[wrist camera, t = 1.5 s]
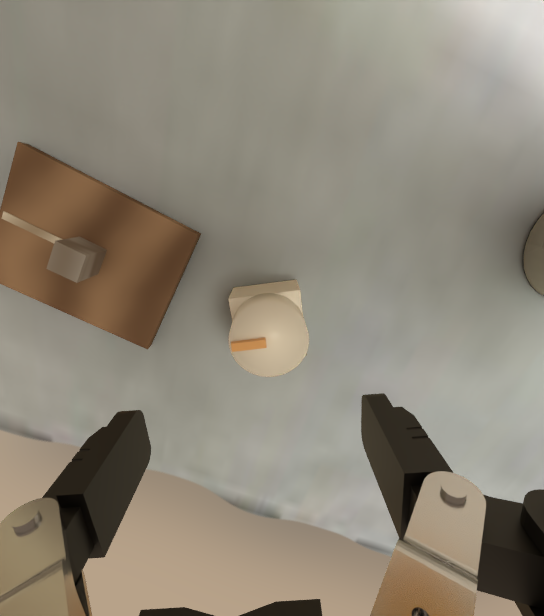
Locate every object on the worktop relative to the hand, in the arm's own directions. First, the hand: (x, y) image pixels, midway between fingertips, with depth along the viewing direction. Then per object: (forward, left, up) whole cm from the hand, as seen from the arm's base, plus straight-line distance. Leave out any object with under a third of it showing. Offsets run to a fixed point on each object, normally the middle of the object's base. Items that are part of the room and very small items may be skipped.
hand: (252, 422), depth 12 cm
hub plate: (+14, +3, -17) cm, 22 cm away
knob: (-1, +1, -17) cm, 17 cm away
